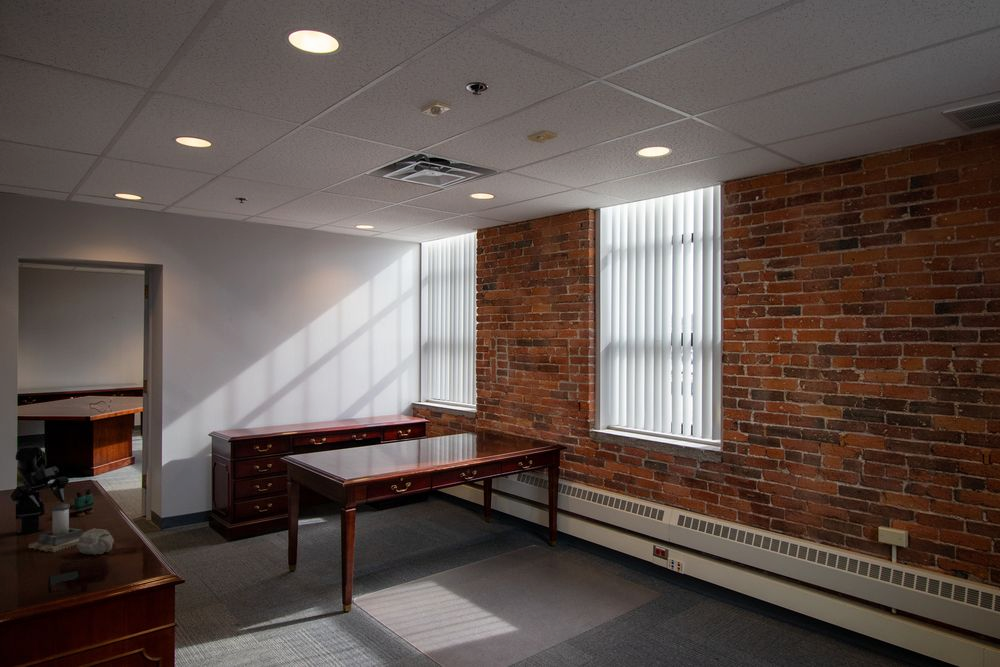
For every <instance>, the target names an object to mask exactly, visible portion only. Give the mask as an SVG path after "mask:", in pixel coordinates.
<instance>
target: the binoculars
mask: <svg viewBox="0 0 1000 667" xmlns="http://www.w3.org/2000/svg"><path fill="white" fill-rule="evenodd" d="M91 492H92V489H91V488H89V489H86V490H85V492H84V493H85V494H84V495H83V492H76V497H75V498H74V504H71V505H70V508H69V511H70V510H71V511H72V512H69V516H75V514H76V516H77V517H83V516H82V515H84V516H85V513H86V514H92V513H91V512H93V513H94V512H95V511H94V509H93V508H94V507H95V503H94V502H95V501H94V496H93V495H94V494H92V493H91ZM73 511H74V512H73Z"/></svg>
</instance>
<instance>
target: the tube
mask: <svg viewBox="0 0 1000 667" xmlns="http://www.w3.org/2000/svg"><path fill="white" fill-rule="evenodd" d="M70 506H71V505H70V504H69V503H61V504H60V503H59V504H55V505H53V506H51V511H52V530H51V531H52V535H53V536H59V535H63V534H66V533H69V528H70V515H69V513H70V510H69V508H70Z"/></svg>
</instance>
